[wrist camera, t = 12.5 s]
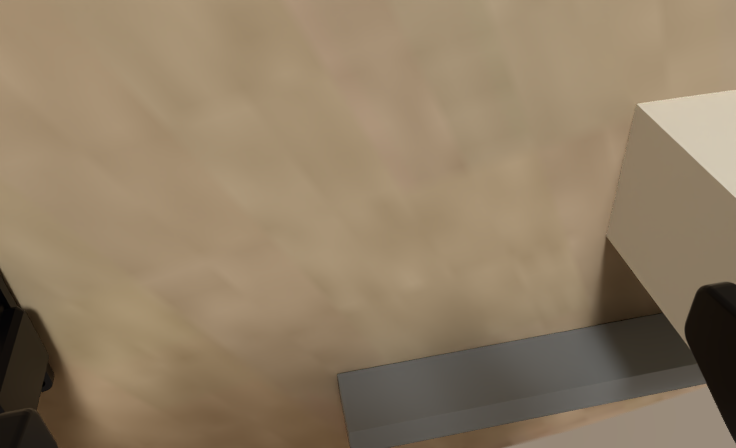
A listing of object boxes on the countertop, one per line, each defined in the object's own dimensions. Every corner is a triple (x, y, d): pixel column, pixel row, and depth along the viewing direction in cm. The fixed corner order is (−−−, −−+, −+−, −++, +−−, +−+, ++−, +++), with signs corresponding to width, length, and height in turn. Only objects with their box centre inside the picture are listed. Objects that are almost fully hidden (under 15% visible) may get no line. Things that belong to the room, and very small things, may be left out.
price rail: (340, 401, 30) (352, 459, 28) (337, 374, 29) (348, 432, 27) (782, 316, 33) (826, 363, 31) (796, 288, 32) (843, 335, 29)
